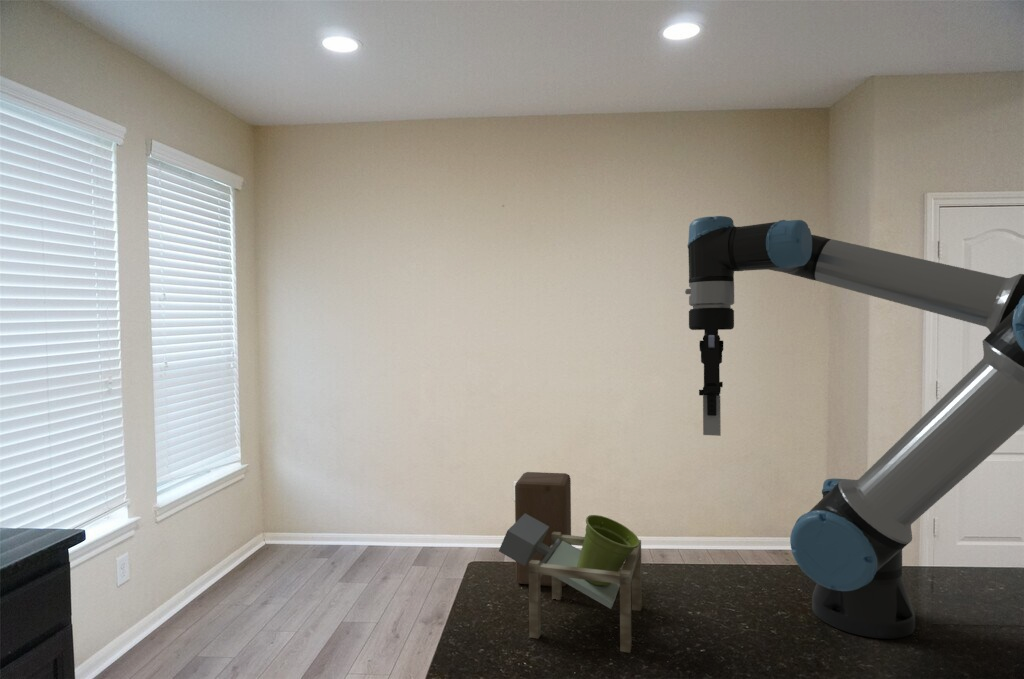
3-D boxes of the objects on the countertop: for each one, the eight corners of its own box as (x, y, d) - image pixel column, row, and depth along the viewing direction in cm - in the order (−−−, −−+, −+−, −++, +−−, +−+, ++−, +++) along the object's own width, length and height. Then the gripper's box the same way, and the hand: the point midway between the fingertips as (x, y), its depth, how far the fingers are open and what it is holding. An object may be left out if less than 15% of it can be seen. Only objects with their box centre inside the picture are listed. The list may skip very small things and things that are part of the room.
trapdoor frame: (641, 607, 108) (641, 539, 108) (630, 652, 93) (629, 574, 92) (553, 595, 113) (553, 531, 113) (529, 637, 98) (528, 562, 97)
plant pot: (559, 571, 99) (580, 523, 97) (575, 552, 107) (594, 509, 106) (612, 601, 95) (634, 553, 94) (624, 580, 104) (644, 535, 103)
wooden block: (566, 589, 116) (565, 484, 115) (514, 585, 118) (513, 482, 117) (571, 569, 125) (571, 472, 125) (524, 565, 127) (523, 470, 127)
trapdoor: (618, 586, 107) (627, 566, 107) (606, 617, 95) (617, 595, 95) (518, 530, 113) (526, 511, 112) (496, 553, 101) (505, 532, 100)
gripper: (690, 310, 119) (691, 418, 119) (685, 305, 96) (686, 439, 96) (731, 309, 117) (732, 419, 117) (736, 303, 93) (737, 442, 93)
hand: (711, 428), depth 106 cm, fingers open, 13 cm apart
